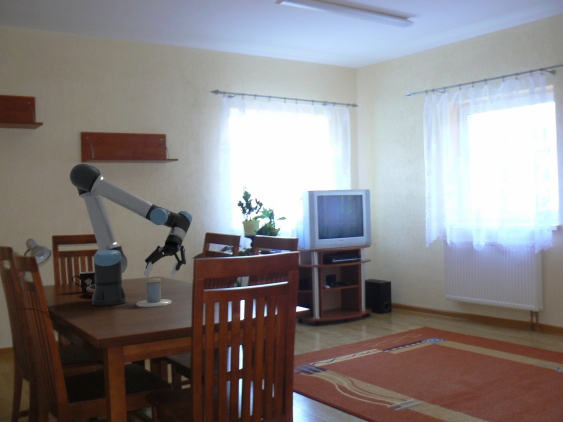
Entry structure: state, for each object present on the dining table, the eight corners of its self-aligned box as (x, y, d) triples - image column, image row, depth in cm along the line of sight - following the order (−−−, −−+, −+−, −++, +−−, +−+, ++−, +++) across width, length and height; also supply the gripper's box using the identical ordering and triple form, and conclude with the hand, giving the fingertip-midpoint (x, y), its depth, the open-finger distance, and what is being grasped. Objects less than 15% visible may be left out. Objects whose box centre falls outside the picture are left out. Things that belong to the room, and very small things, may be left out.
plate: (142, 308, 255) (142, 305, 255) (132, 304, 268) (132, 301, 268) (176, 304, 262) (176, 302, 262) (164, 300, 275) (164, 298, 275)
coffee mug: (99, 290, 320) (99, 271, 320) (93, 292, 312) (92, 273, 311) (78, 290, 321) (78, 271, 321) (71, 293, 313) (70, 273, 313)
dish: (117, 290, 319) (117, 280, 319) (120, 298, 290) (119, 287, 290) (86, 292, 314) (86, 282, 314) (86, 300, 285) (85, 290, 285)
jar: (144, 302, 262) (143, 279, 262) (149, 300, 269) (149, 278, 269) (158, 302, 261) (157, 279, 261) (163, 300, 268) (162, 278, 268)
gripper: (201, 244, 280) (187, 281, 266) (155, 244, 289) (138, 280, 275) (196, 233, 275) (180, 270, 261) (148, 234, 284) (131, 270, 270)
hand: (159, 275), depth 268 cm, fingers open, 13 cm apart
